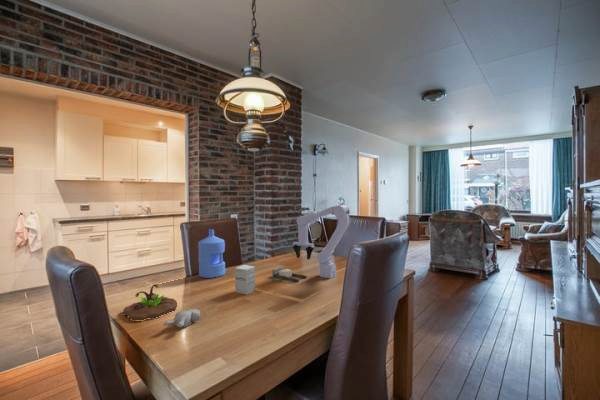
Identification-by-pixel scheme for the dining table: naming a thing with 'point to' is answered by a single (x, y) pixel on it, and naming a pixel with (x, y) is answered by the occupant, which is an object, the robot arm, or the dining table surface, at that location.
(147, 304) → the plant
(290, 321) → the dining table surface
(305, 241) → the robot arm
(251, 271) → the supplement box
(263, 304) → the dining table surface
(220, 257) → the water jug
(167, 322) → the bunny figurine
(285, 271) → the white block with bar
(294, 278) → the gauge board
